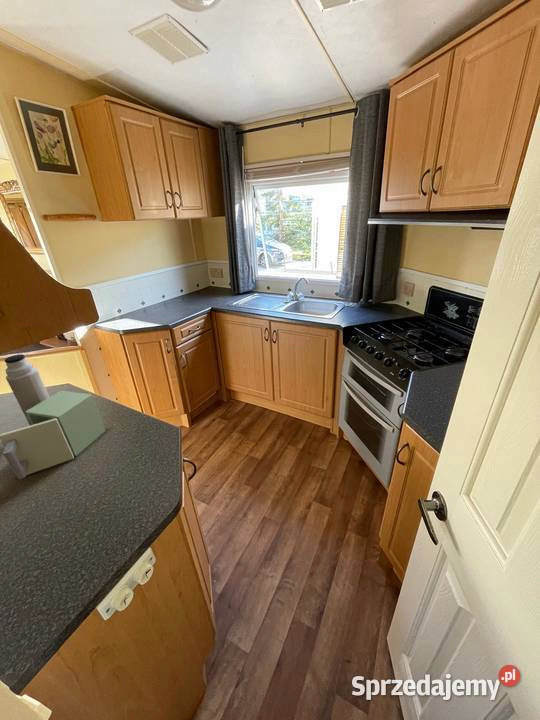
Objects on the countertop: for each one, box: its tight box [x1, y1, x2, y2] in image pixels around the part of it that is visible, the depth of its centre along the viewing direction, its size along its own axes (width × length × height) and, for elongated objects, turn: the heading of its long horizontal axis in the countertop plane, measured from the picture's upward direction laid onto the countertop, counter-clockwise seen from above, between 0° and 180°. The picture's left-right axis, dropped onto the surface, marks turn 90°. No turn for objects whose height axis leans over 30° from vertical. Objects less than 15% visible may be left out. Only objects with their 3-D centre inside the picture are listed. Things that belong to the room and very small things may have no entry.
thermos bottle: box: [4, 353, 50, 426], centre depth 96 cm, size 8×8×28 cm
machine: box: [25, 390, 106, 457], centre depth 92 cm, size 12×13×15 cm
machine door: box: [0, 418, 75, 480], centre depth 80 cm, size 7×13×14 cm, turn 120°
